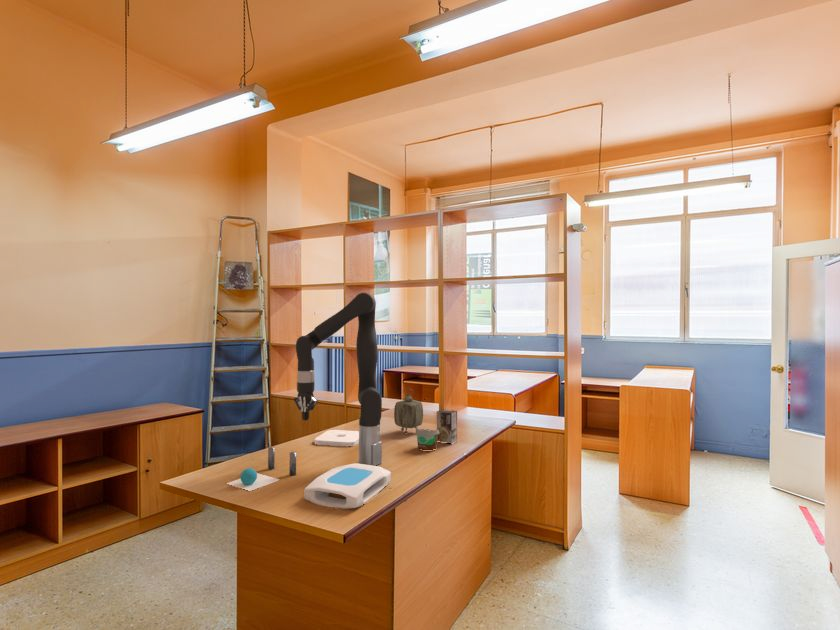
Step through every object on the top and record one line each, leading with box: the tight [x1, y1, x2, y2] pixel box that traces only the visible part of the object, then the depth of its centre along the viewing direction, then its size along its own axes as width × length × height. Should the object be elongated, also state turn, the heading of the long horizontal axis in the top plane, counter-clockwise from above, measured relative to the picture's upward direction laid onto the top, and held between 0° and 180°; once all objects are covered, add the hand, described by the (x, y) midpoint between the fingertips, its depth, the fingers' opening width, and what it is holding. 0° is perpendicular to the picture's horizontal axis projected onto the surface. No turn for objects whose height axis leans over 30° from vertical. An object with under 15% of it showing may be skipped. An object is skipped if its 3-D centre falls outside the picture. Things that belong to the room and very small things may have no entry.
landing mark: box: [225, 472, 280, 492], centre depth 175 cm, size 14×14×1 cm
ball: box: [239, 467, 258, 485], centre depth 173 cm, size 6×6×6 cm
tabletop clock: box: [393, 387, 424, 435], centre depth 251 cm, size 14×9×25 cm, turn 58°
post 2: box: [288, 451, 297, 477], centre depth 184 cm, size 3×3×9 cm
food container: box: [415, 427, 440, 450], centre depth 219 cm, size 12×6×10 cm, turn 68°
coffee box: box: [436, 408, 458, 443], centre depth 233 cm, size 9×6×16 cm
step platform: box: [303, 462, 392, 510], centre depth 166 cm, size 21×28×6 cm
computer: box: [314, 429, 359, 448], centre depth 236 cm, size 22×22×3 cm
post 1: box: [267, 446, 276, 471], centre depth 191 cm, size 3×3×9 cm
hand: (305, 420), depth 198 cm, fingers closed
